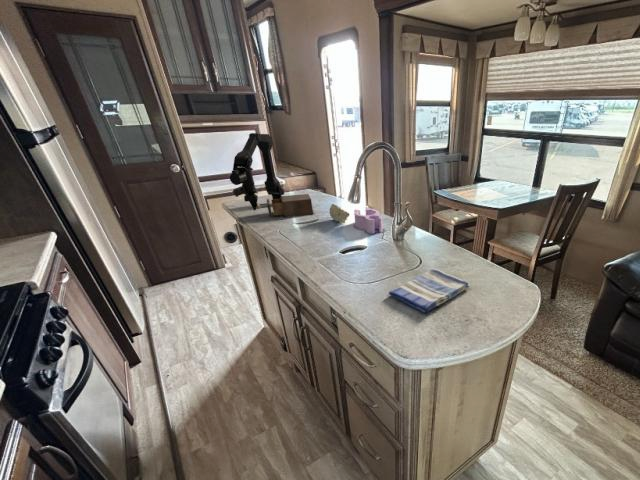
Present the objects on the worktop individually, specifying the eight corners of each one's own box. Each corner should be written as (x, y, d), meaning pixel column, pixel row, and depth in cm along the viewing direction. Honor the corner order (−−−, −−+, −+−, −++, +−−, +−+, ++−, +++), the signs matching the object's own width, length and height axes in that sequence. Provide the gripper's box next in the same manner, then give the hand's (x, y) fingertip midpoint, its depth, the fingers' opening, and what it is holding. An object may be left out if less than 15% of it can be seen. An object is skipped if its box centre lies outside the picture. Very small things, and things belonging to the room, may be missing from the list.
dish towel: (470, 288, 112) (471, 281, 111) (426, 315, 98) (427, 308, 96) (432, 272, 122) (432, 265, 121) (387, 295, 108) (387, 288, 107)
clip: (388, 230, 161) (388, 217, 158) (366, 235, 156) (365, 221, 153) (372, 219, 176) (371, 207, 172) (351, 223, 171) (349, 210, 167)
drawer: (258, 217, 176) (255, 205, 173) (258, 212, 185) (255, 200, 182) (296, 214, 182) (294, 201, 179) (294, 208, 191) (292, 197, 188)
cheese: (332, 220, 181) (319, 209, 167) (339, 209, 181) (327, 197, 167) (352, 233, 177) (341, 223, 163) (360, 222, 177) (349, 211, 162)
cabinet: (285, 217, 180) (282, 201, 176) (283, 210, 190) (280, 196, 186) (313, 214, 185) (311, 199, 180) (310, 208, 195) (308, 193, 190)
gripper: (232, 178, 176) (240, 207, 184) (229, 185, 161) (238, 216, 169) (254, 177, 179) (260, 205, 187) (253, 184, 164) (260, 214, 172)
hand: (254, 210), depth 179 cm, fingers closed, pressing on drawer
